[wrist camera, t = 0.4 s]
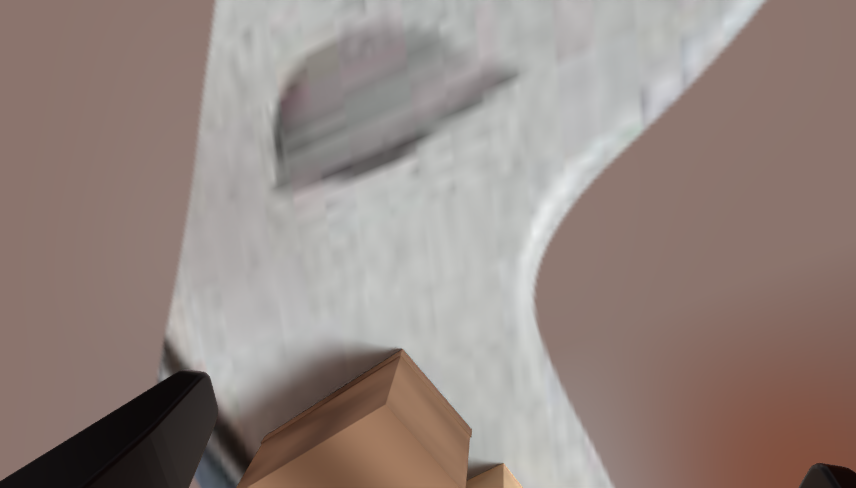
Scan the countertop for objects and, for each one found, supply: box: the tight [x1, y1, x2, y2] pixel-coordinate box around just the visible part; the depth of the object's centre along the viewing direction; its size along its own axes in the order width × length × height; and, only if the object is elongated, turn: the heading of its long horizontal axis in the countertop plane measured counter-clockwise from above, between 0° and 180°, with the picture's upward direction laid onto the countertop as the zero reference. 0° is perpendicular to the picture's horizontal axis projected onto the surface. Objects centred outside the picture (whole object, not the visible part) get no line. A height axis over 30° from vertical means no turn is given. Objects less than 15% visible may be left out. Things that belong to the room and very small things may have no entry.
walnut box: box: [236, 349, 472, 488], centre depth 26 cm, size 9×5×4 cm, turn 128°
